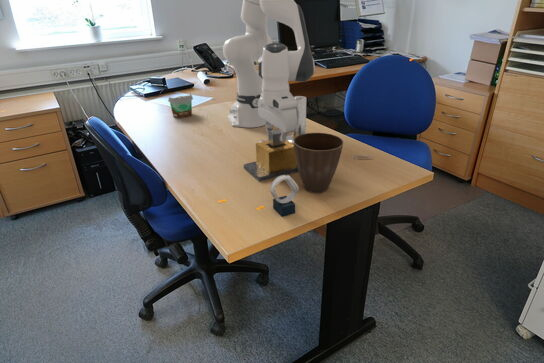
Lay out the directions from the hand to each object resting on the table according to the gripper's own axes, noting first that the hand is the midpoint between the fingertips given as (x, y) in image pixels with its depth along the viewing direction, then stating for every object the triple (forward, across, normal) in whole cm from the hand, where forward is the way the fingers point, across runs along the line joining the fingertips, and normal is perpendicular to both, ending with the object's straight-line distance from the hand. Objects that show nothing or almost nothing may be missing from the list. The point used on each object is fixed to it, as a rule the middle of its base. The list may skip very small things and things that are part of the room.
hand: (276, 136), depth 133 cm
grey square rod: (+10, 0, 0) cm, 10 cm away
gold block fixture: (+12, -2, +2) cm, 12 cm away
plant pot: (+12, +19, +4) cm, 23 cm away
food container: (+12, -75, -10) cm, 77 cm away
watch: (+12, +26, -12) cm, 31 cm away
